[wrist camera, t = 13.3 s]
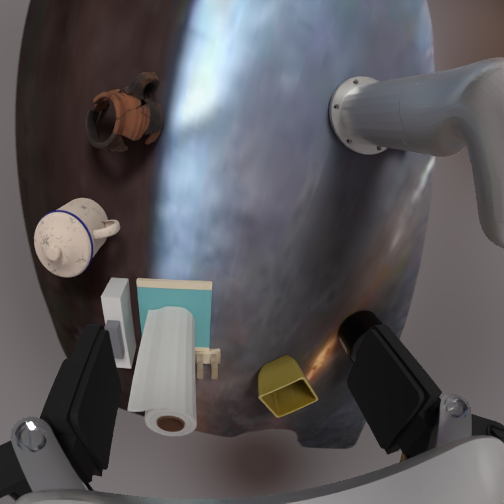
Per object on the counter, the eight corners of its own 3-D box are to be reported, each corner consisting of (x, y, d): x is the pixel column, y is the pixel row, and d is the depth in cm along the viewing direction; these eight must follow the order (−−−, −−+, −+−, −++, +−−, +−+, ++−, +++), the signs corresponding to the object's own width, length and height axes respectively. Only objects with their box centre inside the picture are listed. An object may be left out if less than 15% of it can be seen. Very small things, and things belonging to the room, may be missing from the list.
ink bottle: (328, 343, 56) (352, 385, 45) (346, 307, 53) (375, 346, 42) (365, 345, 58) (391, 382, 47) (384, 311, 56) (415, 346, 45)
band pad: (212, 281, 47) (212, 283, 46) (209, 350, 52) (209, 352, 51) (137, 278, 44) (136, 280, 44) (144, 347, 50) (143, 350, 49)
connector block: (128, 278, 44) (116, 305, 37) (136, 346, 49) (129, 376, 42) (111, 277, 44) (97, 303, 36) (121, 345, 49) (112, 375, 41)
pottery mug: (151, 163, 39) (108, 169, 32) (114, 131, 40) (72, 134, 32) (191, 88, 33) (149, 78, 26) (147, 63, 34) (106, 53, 27)
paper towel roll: (201, 325, 49) (207, 430, 29) (172, 339, 49) (165, 442, 30) (179, 293, 46) (170, 398, 26) (148, 309, 46) (126, 412, 27)
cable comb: (219, 348, 52) (222, 369, 47) (219, 358, 53) (221, 378, 48) (165, 347, 50) (163, 368, 45) (166, 356, 51) (164, 377, 46)
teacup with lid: (68, 256, 41) (37, 291, 31) (54, 202, 38) (15, 225, 27) (134, 244, 42) (115, 280, 32) (121, 186, 39) (94, 205, 28)
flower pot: (268, 386, 58) (277, 419, 50) (249, 363, 55) (257, 397, 46) (305, 369, 58) (319, 400, 50) (290, 343, 54) (304, 376, 46)
